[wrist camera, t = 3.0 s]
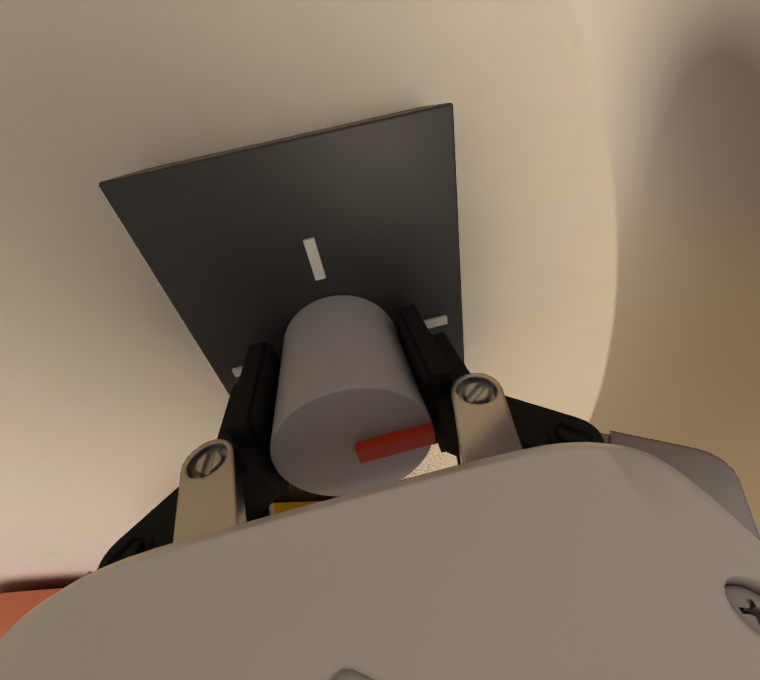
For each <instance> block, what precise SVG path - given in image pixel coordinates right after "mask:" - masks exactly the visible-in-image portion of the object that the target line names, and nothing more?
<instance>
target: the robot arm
mask: <svg viewBox="0 0 760 680" xmlns="http://www.w3.org/2000/svg"><path fill="white" fill-rule="evenodd" d="M399 310H400V311H399V312H395V318H396V323H397V328H398V334H399V339H400V342H401V344H402V347H403V349H404V352H405V354H406V357H407V359H408V362H409V364H410V367H411V369H412V372H413V374H414V377H415V379H416V382H417V384H418V387H419V389H420V392H421V394H422V397H423V399H424V402H425V404H426V407H427V409H428V412H429V414H430V417H431V419H432V423H433V427H434V430H435V437H436V444H437V443H438V445H439V447H440V450H441V452H448V453H450V454H453V455H455V456H456V459H457V466H453V467H449V468H445V469H442V470H438V471H434V472H430V473H426V474H423V475H419V476H415V477H411V478H407V479H404V480H400V481H396V482H392V483H388V484H385V485H381V486H377V487H374V488H370V489H366V490H362V491H359V492H355V493H351V494H348V495H344V496H340V497H336V498H333V499H329V500H325V501H322V502H318V503H314V504H310V505H307V506H303V507H299V508H296V509H292V510H288V511H285V512H281V513H277V514H275V509H274V505H273V501H274V500H275V499H276V498H277V497H278V496H281V495H285V494H289V484H290V483H289V482H287V481H286V480H285V479H284V478H283V477H282V476H281V475H280V474H279V473H278V471H277V470H276V468H275V466H274V464H273V462H272V459H271V455H270V443H271V435H272V427H273V419H274V412H275V404H276V396H277V389H278V381H279V373H280V366H281V361H280V359H279V357H278V354H277V352H276V350H275V348H274V346H273V344H267V343H266V342H265V341H263V342H259V343H255V344H251V345H249V346H248V349H247V353H246V356H245V360H244V364H243V367H242V371H241V374H240V378H239V381H238V384H236V385H234V386H233V388H232V391H231V395H230V398H229V401H228V405H227V408H226V411H225V415H224V418H223V421H222V425H221V428H220V431H219V435H218V438H217V439H215V440H212V441H208V442H206V443H204V444H203V445H201V446H199V447H198V448H197V449H195V450H194V451H193V452H192V453H191V454H190V455H189V456H188V457H187V459H186V460H185V462H184V464H183V466H182V469H181V474H180V483H179V487H178V488H177V489H176V490H175V491H173V492H172V493H171V494H170V495H169V496H168V497H167V498H166V499H164V500H163V501H162V502H161V503H160V504H159V505H158V506H156V507H155V508H154V509H153V510H152V511H151V512H150V513H149V514H147V515H146V516H145V517H144V518H143V519H142V520H141V521H140V522H138V523H137V524H136V525H135V526H134V527H133V528H132V529H131V530H129V531H128V532H127V533H126V534H125V535H124V536H123V537H122V538H120V539H119V540H118V541H117V542H116V543H115V544H114V545H113V546H112V547H111V548H110V549H109V551H108V552H107V553H106V555H105V556H104V558H103V559H102V561H101V563H100V565H99V567H98V569H97V570H96V571H94V572H90V571H89V572H88V573H87V574H86V575H84V576H83V577H82V578H80V579H79V580H77V581H75V582H73V583H71V584H70V585H68V586H66V587H65V588H63V589H62V590H60V591H58V592H57V593H55V594H53V595H52V596H50V597H48V598H47V599H46V600H44V601H43V602H41V603H40V604H39V605H37V606H36V607H35V608H33V609H32V610H31V611H29V612H28V613H27V614H26V615H24V616H23V617H22V618H21V619H20V620H19V621H18V622H16V623H15V624H14V625H13V626H12V627H11V628H10V629H9V630H8V631H7V632H6V633H5V635H4V636H3V637H2V638H1V639H0V680H760V536H759V533H758V531H757V528H756V525H755V522H754V519H753V517H752V514H751V511H750V508H749V506H748V503H747V500H746V497H745V494H744V492H743V489H742V486H741V483H740V480H739V478H738V476H737V475H736V473H735V471H734V470H733V469H732V468H731V467H730V466H729V465H728V464H727V463H726V462H725V461H723V460H722V459H720V458H718V457H717V456H714V455H713V454H711V453H709V452H706V451H703V450H699V449H696V448H691V447H686V446H681V445H677V444H672V443H667V442H663V441H658V440H653V439H648V438H643V437H638V436H633V435H629V434H624V433H619V432H614V431H610V432H609V435H608V434H603V433H600V432H599V431H598V430H597V429H596V428H595V427H594V426H592V425H591V424H590V423H588V422H587V421H584V420H582V419H579V418H577V417H574V416H570V415H567V414H564V413H560V412H557V411H554V410H550V409H547V408H544V407H541V406H537V405H534V404H531V403H527V402H524V401H521V400H517V399H514V398H511V397H507V396H505V395H504V392H503V389H502V387H501V385H500V383H499V382H498V381H497V380H496V379H494V378H493V377H491V376H488V375H485V374H481V373H471V374H470V373H469V371H468V369H467V368H466V366H465V365H464V363H463V361H462V360H461V358H460V357H459V355H458V353H457V352H456V350H455V349H454V347H453V345H452V344H451V342H450V341H449V339H448V337H447V336H446V334H445V333H444V332H441V333H437V334H433V335H431V333H430V331H429V330H428V328H427V326H426V324H425V322H424V321H423V319H422V317H421V315H420V314H419V312H418V310H417V308H416V306H415V305H414V304H412V305H408V306H404V307H400V308H399Z"/></svg>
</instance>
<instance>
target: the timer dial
mask: <svg viewBox="0 0 760 680" xmlns="http://www.w3.org/2000/svg"><path fill="white" fill-rule="evenodd" d="M432 444H436V437H435V430H434V427H433V423H432V419H431V417H430V414H429V412H428V409H427V407H426V404H425V402H424V399H423V397H422V394H421V392H420V389H419V387H418V384H417V382H416V379H415V377H414V374H413V372H412V369H411V367H410V364H409V362H408V359H407V357H406V354H405V352H404V349H403V347H402V344H401V342H400V339H399V337H398V334H397V332H396V329H395V327H394V325H393V322H392V320H391V319H390V317H389V316H388V315H387V314H386V312H385V311H384V310H383V309H381V308H380V307H379V306H378V305H376V304H374V303H373V302H371V301H368V300H366V299H363V298H360V297H356V296H350V295H336V296H330V297H325V298H322V299H319V300H317V301H314V302H312V303H310V304H309V305H307V306H305V307H304V308H303V309H302V310H300V311H299V312H298V313H297V314H296V315H295V316H294V317H293V319H292V320H291V322H290V323H289V325H288V327H287V329H286V332H285V336H284V343H283V350H282V358H281V366H280V373H279V381H278V389H277V396H276V404H275V412H274V419H273V427H272V435H271V443H270V455H271V459H272V462H273V464H274V466H275V468H276V470H277V471H278V473H279V474H280V475H281V476H282V477H283V478H284V479H285V480H286V481H287V482H289V483H290V484H292V485H293V486H295V487H297V488H299V489H302V490H304V491H307V492H311V493H314V494H319V495H325V496H344V495H348V494H351V493H355V492H359V491H362V490H366V489H370V488H374V487H377V486H381V485H385V484H388V483H392V482H396V481H399V480H400V479H402V478H404V477H405V476H407V475H408V474H409V473H411V472H412V471H413V470H414V469H415V468H416V467H417V466H418V465H419V464H420V463H421V462H422V461H423V459H424V458H425V457H426V455H427V453H428V451H429V449H430V447H431V445H432Z"/></svg>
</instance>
